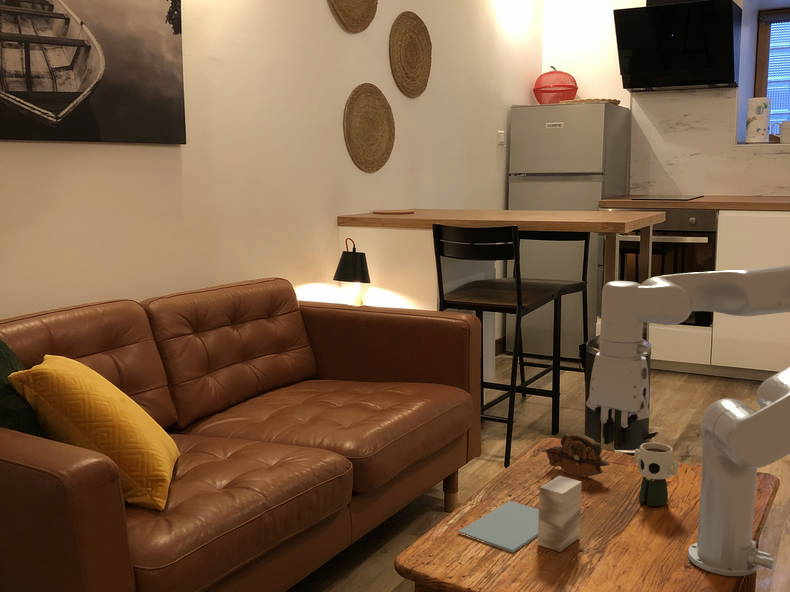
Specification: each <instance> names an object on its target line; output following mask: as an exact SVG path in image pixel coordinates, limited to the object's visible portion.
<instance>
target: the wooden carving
mask: <svg viewBox="0 0 790 592" xmlns="http://www.w3.org/2000/svg"><path fill="white" fill-rule="evenodd" d="M560 445H561V446H560ZM560 445H555V446H553V447H551V446H550V447H549V448H547V449H545V453H546V455H547V458H548V463H549V465H550V466H551V467H554V468H555V467H560V468H561V470H563V471H564V472H565V473H568V475H571V476H575V477H580V478H589V477H592V476H596V475H600V474H603V473H604V470H603V469H602V467H605V466H609V465H611V464H610V462H609V461H608V460H605V459H602V457H601V454H602V451H603V447H602V443H600V442H597V441H595V440H594V439H593V438H591V437H589V436H587V435H584V434H580V433H575V434H571V435H570V434H569V433H565V434H563V436H562V438H561V440H560Z"/></svg>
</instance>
